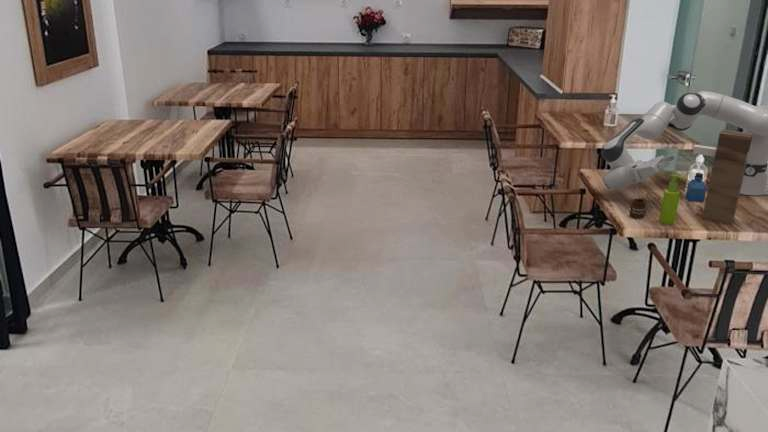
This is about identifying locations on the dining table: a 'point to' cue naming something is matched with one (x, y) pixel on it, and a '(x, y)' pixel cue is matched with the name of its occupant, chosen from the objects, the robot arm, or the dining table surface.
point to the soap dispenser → (670, 201)
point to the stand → (727, 176)
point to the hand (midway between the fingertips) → (671, 159)
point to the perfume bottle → (696, 189)
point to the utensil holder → (638, 207)
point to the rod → (705, 150)
